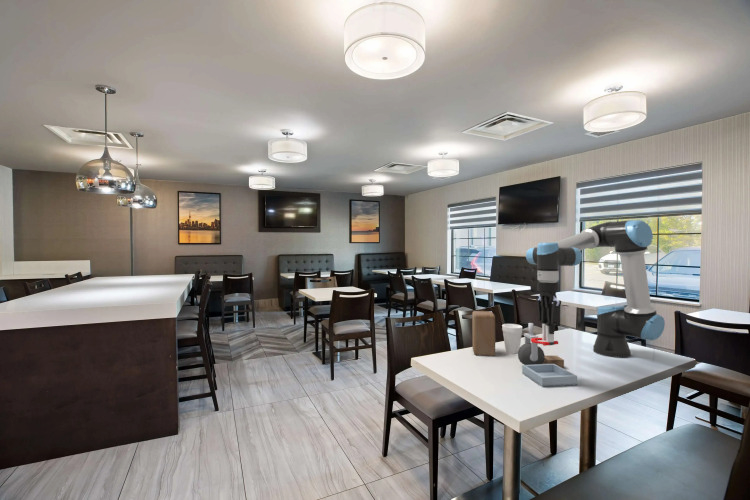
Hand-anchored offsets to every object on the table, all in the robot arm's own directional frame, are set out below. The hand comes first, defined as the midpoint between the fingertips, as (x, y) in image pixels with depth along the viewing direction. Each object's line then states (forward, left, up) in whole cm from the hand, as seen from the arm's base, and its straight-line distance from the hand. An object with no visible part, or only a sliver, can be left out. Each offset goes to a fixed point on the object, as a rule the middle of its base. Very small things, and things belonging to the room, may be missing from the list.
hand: (548, 340), depth 136 cm
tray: (0, 0, -15) cm, 15 cm away
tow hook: (0, -4, -2) cm, 4 cm away
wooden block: (+11, -36, -15) cm, 41 cm away
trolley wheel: (-1, -14, -15) cm, 21 cm away
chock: (-11, -14, -15) cm, 23 cm away
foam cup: (-4, -36, -15) cm, 39 cm away
